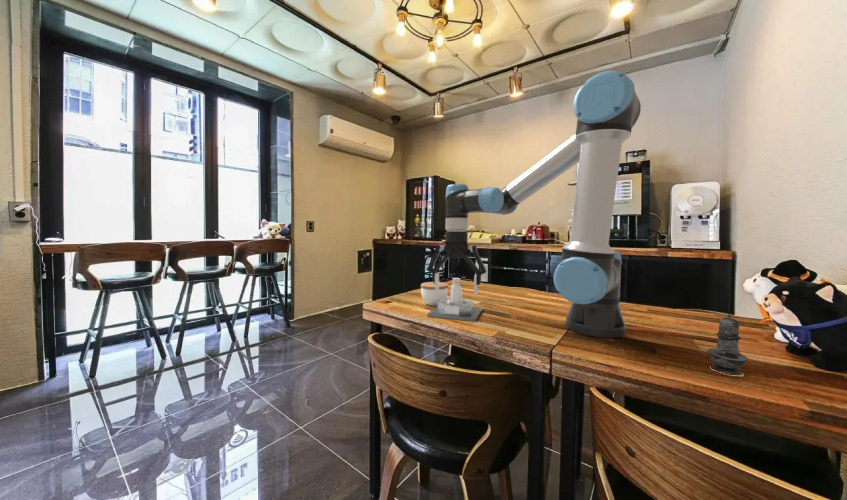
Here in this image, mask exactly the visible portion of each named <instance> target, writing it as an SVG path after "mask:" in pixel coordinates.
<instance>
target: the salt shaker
mask: <svg viewBox="0 0 847 500" xmlns="http://www.w3.org/2000/svg"><path fill="white" fill-rule="evenodd" d="M449 298H450V300H449V304H450V303H454V304H455V305H460V304H463V299H464V298H463V288H462V285H461V278H459V277H453V278H452V285H451V286H450V293H449Z"/></svg>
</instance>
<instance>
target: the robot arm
mask: <svg viewBox="0 0 847 500" xmlns="http://www.w3.org/2000/svg"><path fill="white" fill-rule="evenodd" d="M635 90H636V89H635V84H634V82H633V80H632V79H630V77H629V76H628V75H627V74H625V73H623V72H621V71H619V70H606V71H603V72H598V73H597V74H595V75H593V76H592V77H590V78H589V79H586V81H585V82H584V83H583V84H582V85H581V86H580V87H579V88H578V91H577V92H576V93H575V96H574V97H573V98H574V99H573V105H572V106H573V112H574V115H575V117H576V119H577V120H576V121H577V122H576V128H575V129H576V130H575V133H573V134H572V135H571V136H570V137H568V138H567V139H566V140H564V141H563V142H562V143H560V144H559V145H558V146H556V147H555V148H554V149H552V150H551V151H550V152H548V153H547V154H546V155H544V156H543V157H542V158H540V159H539V160H538V161H537V162H536V163H534V164H533V165H532V166H530V167H529V168H528V169H526V170H525V171H524V172H522V173H521V174H520V175H519V176H516V178H514V180H512V181H511V182H510V183H508V184H507V185H505V186H504V187H503V188H502V189H501V188H499V187H492V186H491V187H490V186H489V187H488V186H486V187H482V188H473V189H469V186H468V185H467V184H465V183H455V184H454V183H453V184H448V185H447V187H446V190H445V226H444V227H445V230H446V232H445V237H444V238H445V241H444V245H441V244H437V245H436V246H435V250H434V251H435V252H434V254H433V256H432V258H431V260H430V262H429V264H428V266H427V268H426V270H427V272H430V273H431V280H432V281H431V282H435V292H438V291H439V282H440V272H438V271H439V270H440V269H441V267H442V266H443V265H444V264H445V263H446V261H447V260H448V259H449V258H450V259H458V260H459V259H462V258H463V260H464V261H465V262H466V263H467V264H468V266H469V267H470V269H472V272H474V273H475V274H474V275H473V296H474V295H475V296H476V295H478V287H479V286H478V285H481V283H482V280H481V279H482V278H481V277H482V275H484V274H486V273H487V269H486V267H485V264H484V263H483V260H482V258H481V257H480V255H479V252H478V246H477V245H469V243H468V235H469V232H468V231H467V230H468V229H469V226H468V224H469V214H471V213H473V214H474V213H477V214H478V213H484V214H485V213H486V214H489V213H490V214H497V215H503V216H504V215H510V214H513V213H514V212H515V211H516V210H517V209H518V206H519V205H520V204H521V203H523V202H524V201H526V200H527V199H528V198H531V196H533V195H534V194H536V193H537V192H538V191H540V190H541V189H543V188H544V187H545V186H548V184H550V183H551V182H553V181H554V180H555V179H557V178H558V177H560V176H561V175H563V174H564V173H566V172H567V171H569V170H570V169H572V168H573V167H574V166H575V165H577V164H578V167H577V168H578V169H577V177H576V186H575V195H574V201H573V202H574V204H573V213H572V219H571V220H572V221H571V229H570V236H569V237H570V238H569V240H568V242H567V243H565V244H564V245H563V246H562V249H561V257H560V262H559V264H558V265H557V266H556V268H555V270H554V273H553V284H554V287H555V289H556V291H557V292H558V293H559V295H561V297H562V298H564V299H565V300H566V301H568V302H570V303H571V305H570V307H569V310H568V313H567V316H566V319H565V327H566V328H568V329H569V330H571V331H572V332H576V333H578V334H582V335H586V336H591V337H597V338H607V339H608V338H610V339H611V338H621V337H624V336H626V333H627V332H626V331H627V326H626V322H625V320H624V316H623V313H622V310H621V305H620V298H621V278H622V276H621V275H622V273H621V272H622V265H623V260H622V255H621V253H620V252H619V251H616V250H614V249H613V248H612V247H611V246H610V235H611V229H612V227H611V226H612V221H613V213H614V205H615V198H616V193H617V192H616V190H617V182H618V174H619V167H620V159H621V152H622V145H623V144H624V142H625V141H626V140H628V139H629V138H630V137H631V136H632V128H634V126H635V125H636V123H637V122H638V120H639V118H640V114H641V112H642V111H641V109H642V107H641V105H642V104H641V101H640V99H639V97H638V96H637V92H636V91H635ZM443 250H444V251H445V254H444V256H443V257H442V258H441V259H440V261H439V262H437V260H438V259H439V256H440V254H441V252H443ZM469 250H470V252H471V253H472V255H473V256H474V260H475V261H476V263H477V265H478V266H477V265H476V264H475V263H474V261H473V260H472V259H471V258H470V256H469V255H468V251H469ZM436 262H437V264H436ZM435 264H436V266H435ZM434 266H435V267H434ZM478 267H479V268H478Z"/></svg>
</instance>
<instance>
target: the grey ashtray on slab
mask: <svg viewBox="0 0 847 500" xmlns="http://www.w3.org/2000/svg"><path fill="white" fill-rule="evenodd" d="M449 300H450V297H449V298H446V299H441V300H440V301H439V302H438V305H437V306H435V307H434V308H432V309H431V310H430V311H429V312H427V317H428V318H437V319H445V320H447V319H448V320H456V321H457V320H458V321H466V322H467V321H468V322H476V321H477V320H478V318H479V316H480V314H481V313H482V311H483V308H482V307H479V306H478V307H476V306H474V302H475V301H474V300H473V301H472V300H470V299H466V298H463V304H460V305H455V304H454V303H450V304H449Z"/></svg>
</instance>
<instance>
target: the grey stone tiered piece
mask: <svg viewBox="0 0 847 500" xmlns="http://www.w3.org/2000/svg"><path fill="white" fill-rule="evenodd" d="M718 323H719V324H718V332H716V333H715V334H716V336H717V344H716V346H715V347H714V348H708V349H707V350H706V351H707V353H708V354H709V355H708V356H709V358H710V360H711V362H712V363H713V364H710V365H711V368H712V369H714V370H716V371H718V372H722V373H725V374H726V375H727V374H729V375H742V373H743V372H742V371H741V370H740V369H741V368H743V367H744V366H745V365H746V361H748V360H749V357H748V356H747V355H744V354H742V353H741V352H740V348H739V341H740V340H742V337H740V336H739V333H740V331H739V330H740V322H739V321H738V320H737V319H735V318H733V317H732V314H731V313H728V314H727V316H726V317H722V318H720V319H719V322H718ZM726 375H725V376H726Z"/></svg>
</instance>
